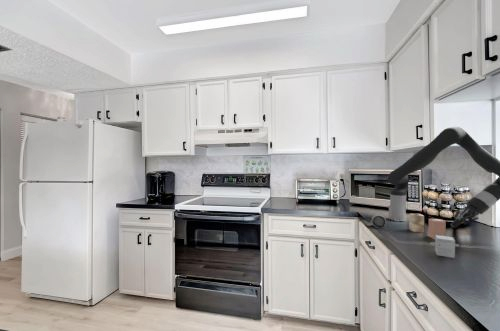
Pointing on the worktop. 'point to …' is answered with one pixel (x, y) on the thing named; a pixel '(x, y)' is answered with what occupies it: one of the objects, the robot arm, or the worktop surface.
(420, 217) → the key one
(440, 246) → the product box
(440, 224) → the key two
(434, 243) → the keypad board
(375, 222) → the ceramic mug
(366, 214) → the worktop surface
